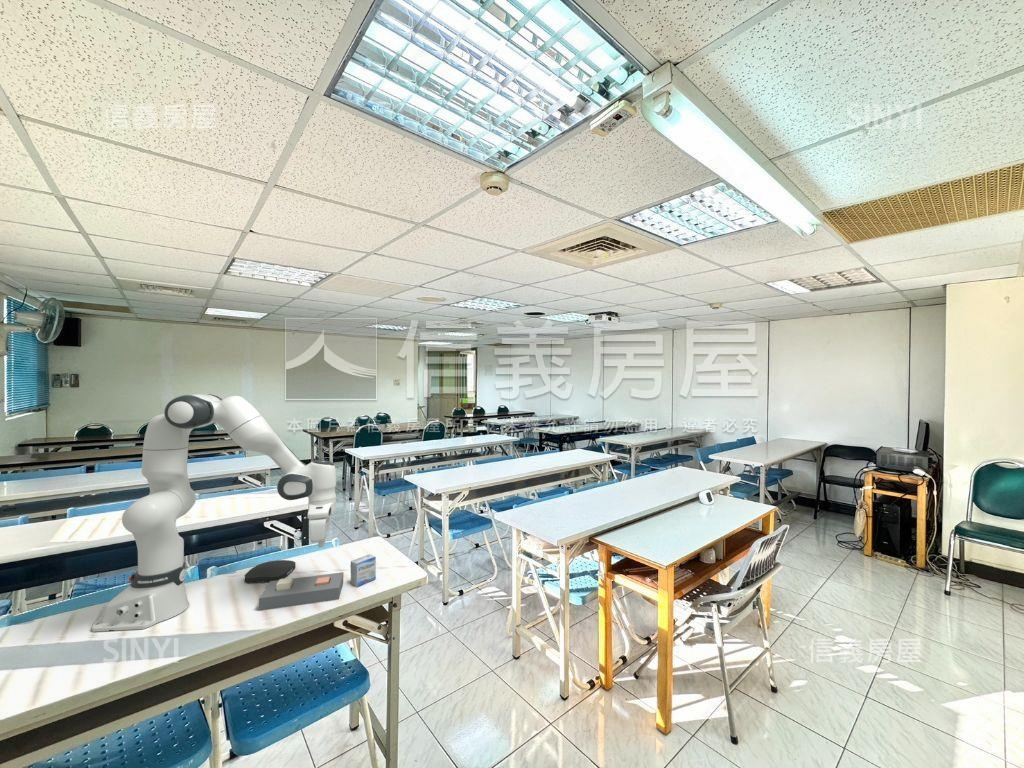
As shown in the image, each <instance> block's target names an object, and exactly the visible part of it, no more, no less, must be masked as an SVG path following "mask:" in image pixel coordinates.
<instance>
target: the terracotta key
mask: <svg viewBox="0 0 1024 768" xmlns="http://www.w3.org/2000/svg"><path fill="white" fill-rule="evenodd" d="M329 583H330V577H322V578H318V579H317V581H316V586H318V585H326V584H329Z"/></svg>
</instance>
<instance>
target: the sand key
mask: <svg viewBox="0 0 1024 768" xmlns="http://www.w3.org/2000/svg"><path fill="white" fill-rule="evenodd" d="M293 578H294V577H286V578H285V579H280V580H279V581H278V583H277V584H276V591H280V590H287V589H291V587H292V585H293Z"/></svg>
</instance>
